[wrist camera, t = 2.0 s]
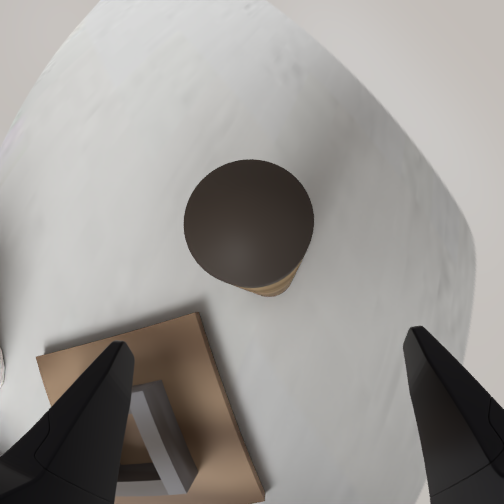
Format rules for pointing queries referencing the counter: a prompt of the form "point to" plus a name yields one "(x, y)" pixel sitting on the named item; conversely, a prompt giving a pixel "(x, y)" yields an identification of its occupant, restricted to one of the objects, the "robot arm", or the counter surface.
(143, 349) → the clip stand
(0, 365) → the white cup
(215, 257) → the wooden peg
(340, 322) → the counter surface
